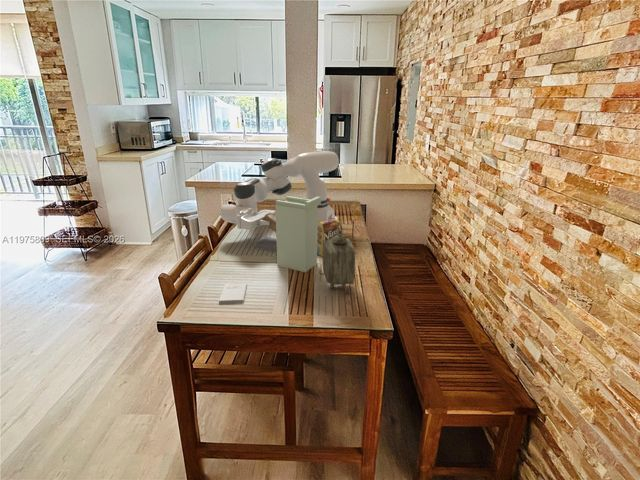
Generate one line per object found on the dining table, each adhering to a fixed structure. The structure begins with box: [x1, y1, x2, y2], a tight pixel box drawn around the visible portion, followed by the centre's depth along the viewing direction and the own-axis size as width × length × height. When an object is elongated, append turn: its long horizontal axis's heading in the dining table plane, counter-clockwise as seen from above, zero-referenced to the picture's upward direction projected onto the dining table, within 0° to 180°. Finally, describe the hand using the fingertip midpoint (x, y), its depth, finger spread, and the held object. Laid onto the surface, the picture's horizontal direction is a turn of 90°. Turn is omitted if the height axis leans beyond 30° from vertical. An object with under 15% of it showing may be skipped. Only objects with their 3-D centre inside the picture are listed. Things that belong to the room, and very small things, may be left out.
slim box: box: [263, 213, 276, 233], centre depth 165 cm, size 4×22×4 cm, turn 61°
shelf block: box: [274, 195, 321, 273], centre depth 149 cm, size 10×15×29 cm, turn 61°
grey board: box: [254, 236, 277, 253], centre depth 169 cm, size 9×28×2 cm, turn 61°
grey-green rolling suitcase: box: [322, 221, 356, 295], centre depth 132 cm, size 14×9×25 cm, turn 8°
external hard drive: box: [218, 282, 248, 304], centre depth 132 cm, size 2×8×12 cm
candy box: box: [317, 218, 340, 257], centre depth 164 cm, size 9×4×15 cm, turn 123°
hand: (273, 221), depth 167 cm, fingers closed on slim box, 4 cm apart
